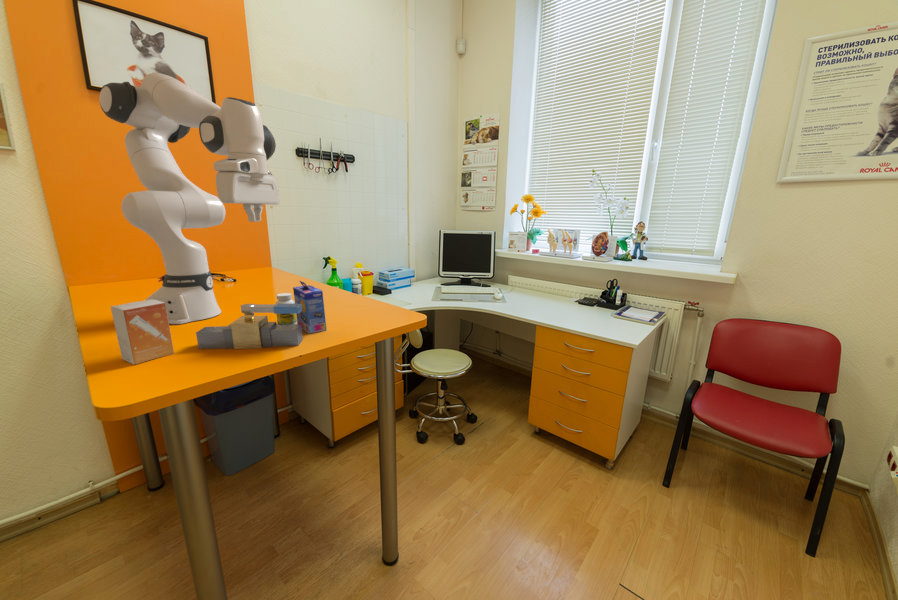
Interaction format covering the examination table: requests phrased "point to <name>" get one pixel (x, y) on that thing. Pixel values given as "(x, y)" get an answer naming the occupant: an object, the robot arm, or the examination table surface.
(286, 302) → the supplement bottle
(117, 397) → the examination table surface
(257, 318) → the valve pipe
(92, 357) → the examination table surface
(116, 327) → the small box
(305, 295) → the ink cartridge box
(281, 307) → the lever
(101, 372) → the examination table surface
